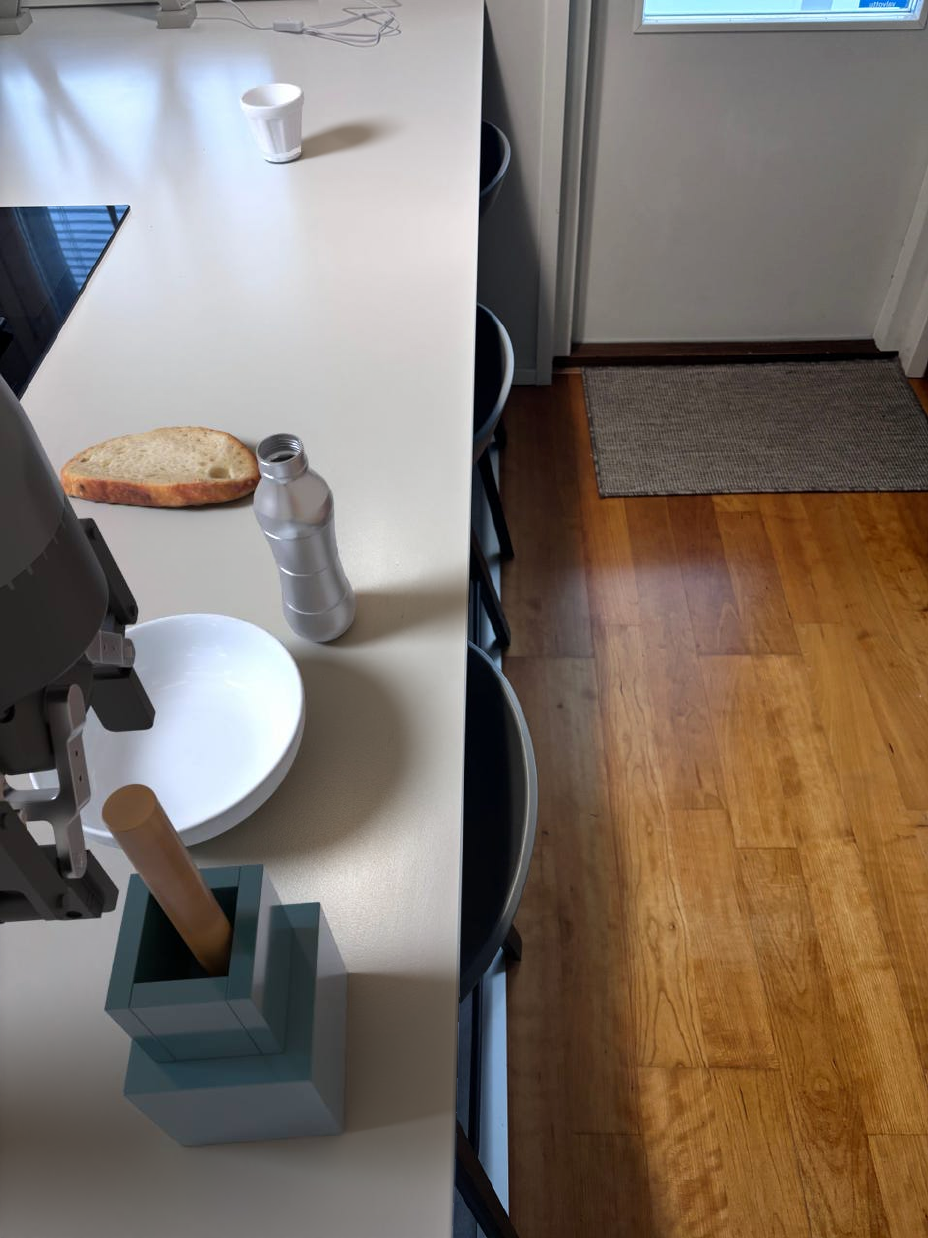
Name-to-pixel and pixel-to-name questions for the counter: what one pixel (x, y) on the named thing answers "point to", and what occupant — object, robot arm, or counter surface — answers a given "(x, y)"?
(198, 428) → the bread slice
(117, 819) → the stick
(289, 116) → the cup
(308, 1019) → the utensil holder
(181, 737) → the serving bowl
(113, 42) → the counter surface
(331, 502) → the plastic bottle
